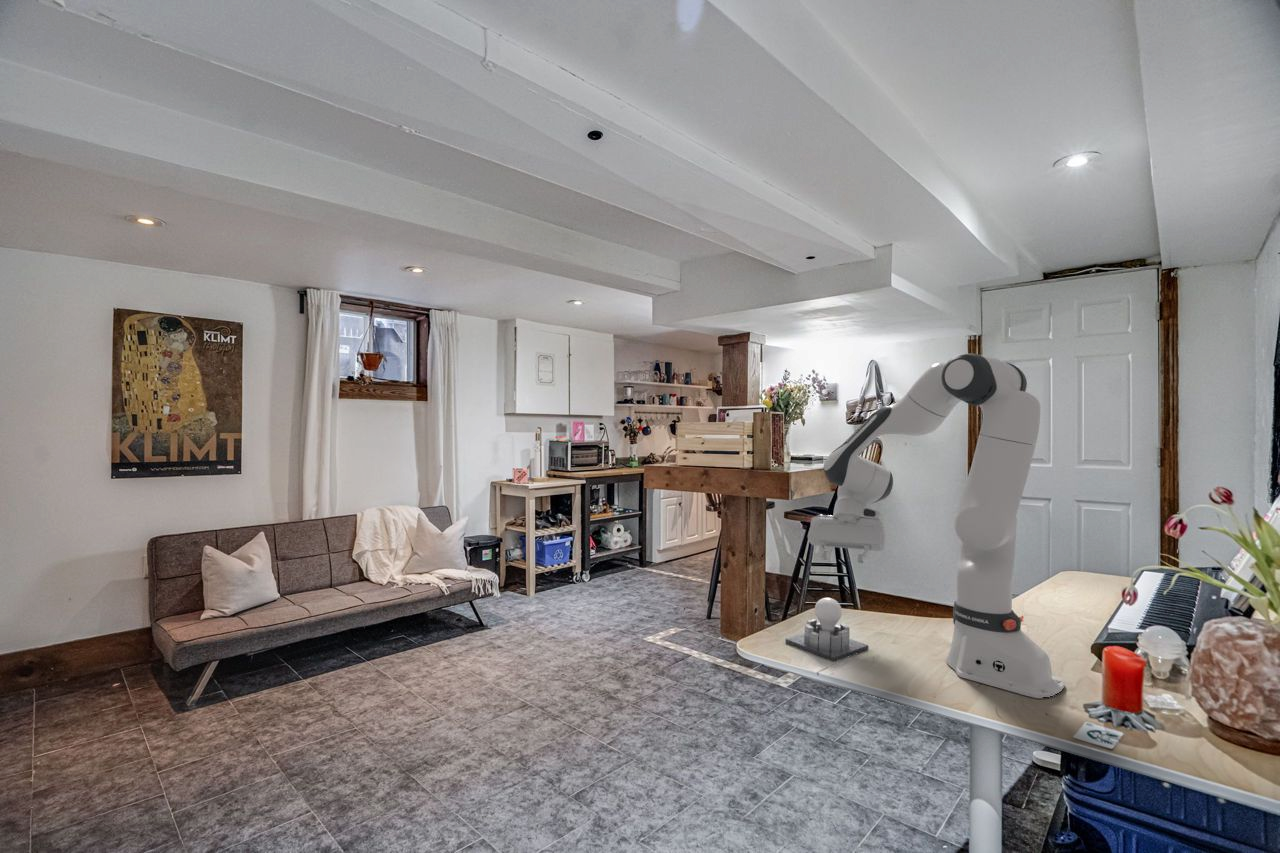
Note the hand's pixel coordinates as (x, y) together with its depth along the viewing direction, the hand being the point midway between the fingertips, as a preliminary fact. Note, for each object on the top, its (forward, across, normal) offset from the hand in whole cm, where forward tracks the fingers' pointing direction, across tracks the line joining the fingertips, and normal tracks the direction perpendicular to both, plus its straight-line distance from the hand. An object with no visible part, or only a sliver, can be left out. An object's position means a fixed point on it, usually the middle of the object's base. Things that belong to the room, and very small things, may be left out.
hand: (842, 560), depth 158 cm
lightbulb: (+22, -1, +2) cm, 23 cm away
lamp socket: (+23, -1, +2) cm, 23 cm away
